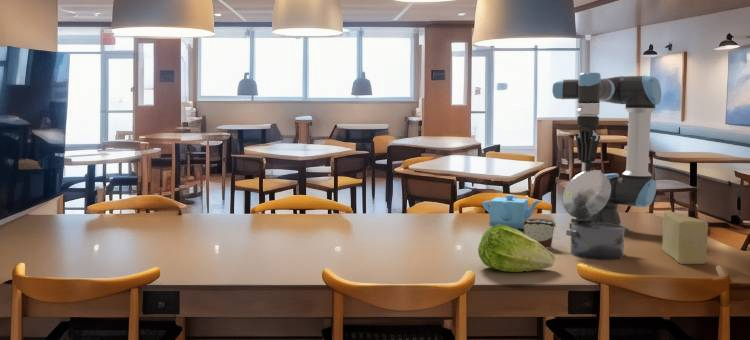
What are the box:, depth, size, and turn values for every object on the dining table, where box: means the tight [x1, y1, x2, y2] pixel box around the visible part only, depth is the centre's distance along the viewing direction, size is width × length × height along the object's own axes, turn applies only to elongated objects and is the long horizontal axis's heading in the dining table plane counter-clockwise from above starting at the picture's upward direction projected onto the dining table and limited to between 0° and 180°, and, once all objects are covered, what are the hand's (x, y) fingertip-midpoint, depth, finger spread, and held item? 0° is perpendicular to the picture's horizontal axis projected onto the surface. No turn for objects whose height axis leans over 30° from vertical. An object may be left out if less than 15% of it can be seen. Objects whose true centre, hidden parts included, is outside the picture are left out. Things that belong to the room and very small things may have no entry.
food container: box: [522, 217, 557, 249], centre depth 265 cm, size 12×6×10 cm, turn 71°
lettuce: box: [477, 224, 557, 273], centre depth 227 cm, size 15×24×16 cm
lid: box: [561, 169, 611, 223], centre depth 258 cm, size 20×19×4 cm
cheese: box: [661, 210, 709, 265], centre depth 247 cm, size 22×10×15 cm, turn 2°
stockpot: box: [565, 222, 629, 261], centre depth 252 cm, size 20×23×10 cm
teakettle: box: [482, 194, 542, 230], centre depth 298 cm, size 19×19×15 cm
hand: (585, 180), depth 257 cm, fingers closed
